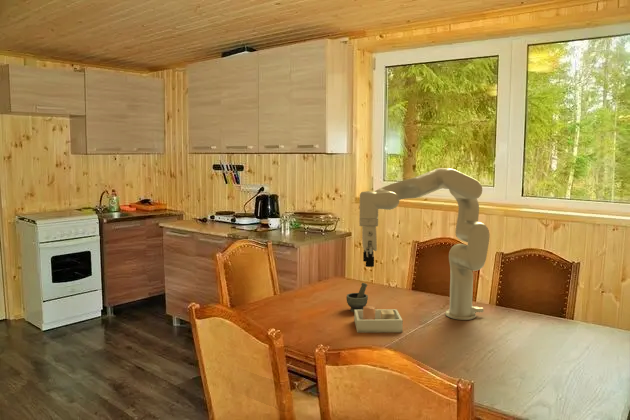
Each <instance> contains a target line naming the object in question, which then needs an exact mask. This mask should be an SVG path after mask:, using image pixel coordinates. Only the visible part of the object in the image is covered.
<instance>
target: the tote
mask: <svg viewBox="0 0 630 420" xmlns="http://www.w3.org/2000/svg"><path fill="white" fill-rule="evenodd" d="M381 310H393V312H394V314H395V319H381ZM353 313H354V314H353V315H354V316H353V317H354V319H353V320H354V325H355V328H356V329H355V330H356V333H357V334H359V333H360V334H361V333H370V334H371V333H372V334H373V333H403V331H404V330H403V326H404V325H403V323H404V322H403V321H404V320H403V318H402V316H401V315H400V313H399V311H398V309H397V308H396V309H395V308H393V309H383V308H382V309H376V308H375V320H363V310H354V312H353Z"/></svg>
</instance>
